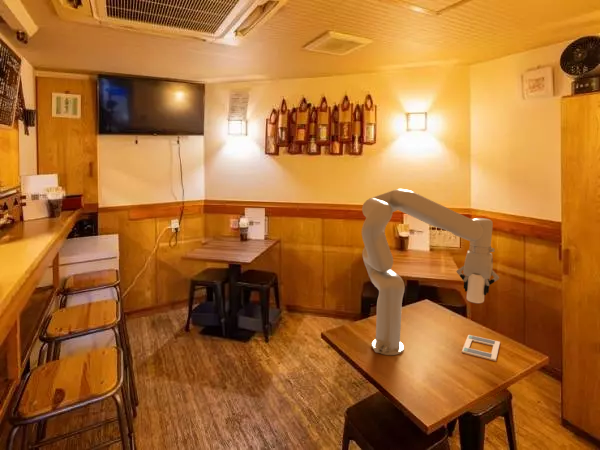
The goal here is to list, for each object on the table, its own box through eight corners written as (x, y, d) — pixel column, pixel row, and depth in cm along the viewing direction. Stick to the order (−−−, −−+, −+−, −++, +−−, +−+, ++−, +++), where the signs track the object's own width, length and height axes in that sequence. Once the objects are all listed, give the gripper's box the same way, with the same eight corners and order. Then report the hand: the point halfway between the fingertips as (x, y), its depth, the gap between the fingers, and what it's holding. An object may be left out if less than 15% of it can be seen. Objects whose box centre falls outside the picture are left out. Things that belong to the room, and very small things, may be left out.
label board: (495, 361, 142) (496, 359, 142) (461, 352, 149) (461, 350, 148) (499, 343, 156) (500, 341, 155) (468, 335, 162) (468, 334, 162)
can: (480, 298, 157) (483, 270, 155) (486, 304, 151) (489, 275, 148) (464, 297, 158) (466, 269, 156) (469, 303, 152) (471, 274, 149)
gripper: (505, 250, 149) (500, 294, 152) (458, 244, 158) (455, 285, 161) (503, 254, 142) (498, 299, 146) (454, 248, 152) (451, 290, 155)
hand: (475, 292), depth 154 cm, fingers closed on can, 6 cm apart
